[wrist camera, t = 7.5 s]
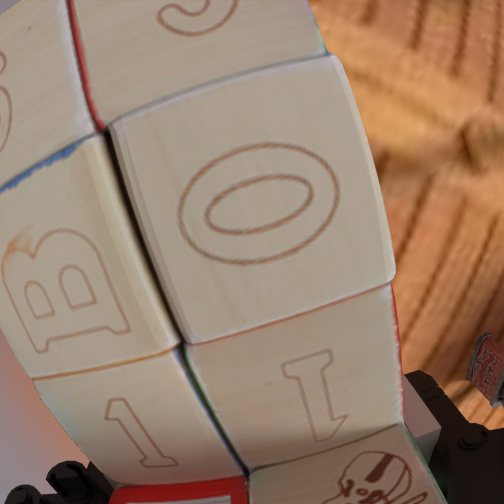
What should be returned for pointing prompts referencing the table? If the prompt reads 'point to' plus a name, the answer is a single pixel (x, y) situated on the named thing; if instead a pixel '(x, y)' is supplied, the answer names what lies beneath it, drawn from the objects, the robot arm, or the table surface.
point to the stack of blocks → (201, 253)
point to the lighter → (488, 369)
